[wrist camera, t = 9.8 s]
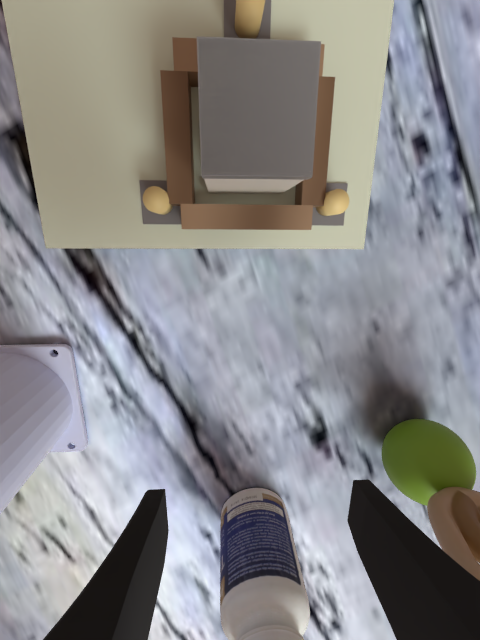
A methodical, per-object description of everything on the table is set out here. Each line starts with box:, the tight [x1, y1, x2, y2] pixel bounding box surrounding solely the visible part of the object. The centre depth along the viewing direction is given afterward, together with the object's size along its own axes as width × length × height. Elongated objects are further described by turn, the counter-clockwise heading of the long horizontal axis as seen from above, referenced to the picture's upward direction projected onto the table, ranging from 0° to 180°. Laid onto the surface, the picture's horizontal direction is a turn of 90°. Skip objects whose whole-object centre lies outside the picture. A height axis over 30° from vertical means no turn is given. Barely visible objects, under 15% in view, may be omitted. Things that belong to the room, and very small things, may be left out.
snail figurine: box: [382, 419, 480, 581], centre depth 17 cm, size 5×6×12 cm
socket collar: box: [160, 37, 335, 230], centre depth 15 cm, size 8×8×2 cm
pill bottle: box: [220, 488, 310, 640], centre depth 20 cm, size 5×5×10 cm
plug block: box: [197, 36, 321, 194], centre depth 13 cm, size 4×4×6 cm
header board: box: [2, 0, 394, 249], centre depth 15 cm, size 18×12×3 cm, turn 90°
